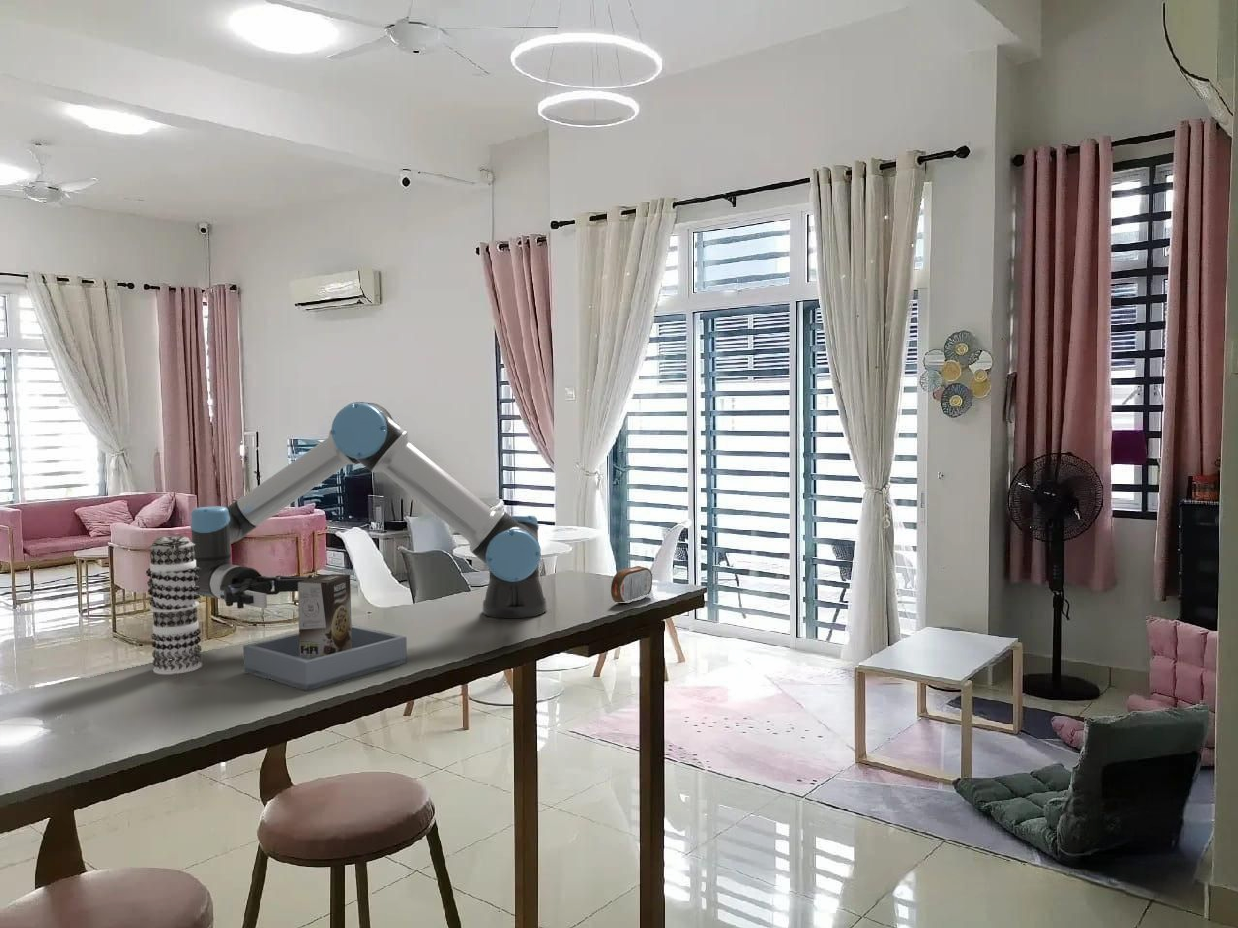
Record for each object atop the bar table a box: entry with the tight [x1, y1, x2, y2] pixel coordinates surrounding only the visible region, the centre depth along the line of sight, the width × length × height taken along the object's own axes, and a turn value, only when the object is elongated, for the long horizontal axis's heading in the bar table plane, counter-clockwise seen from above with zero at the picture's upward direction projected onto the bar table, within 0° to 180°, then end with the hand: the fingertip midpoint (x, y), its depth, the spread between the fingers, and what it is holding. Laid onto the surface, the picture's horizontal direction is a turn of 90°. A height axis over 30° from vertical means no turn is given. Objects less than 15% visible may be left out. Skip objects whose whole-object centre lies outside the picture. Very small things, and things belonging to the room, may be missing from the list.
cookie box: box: [297, 573, 353, 660], centre depth 177 cm, size 9×6×16 cm
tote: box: [242, 624, 408, 692], centre depth 177 cm, size 22×20×5 cm
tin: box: [610, 565, 653, 603], centre depth 234 cm, size 15×3×8 cm, turn 144°
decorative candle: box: [145, 535, 203, 675], centre depth 178 cm, size 9×9×25 cm
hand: (296, 594), depth 183 cm, fingers open, 13 cm apart
